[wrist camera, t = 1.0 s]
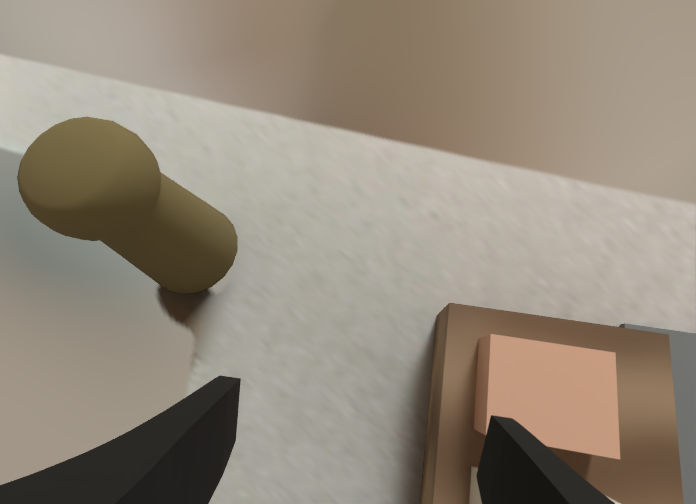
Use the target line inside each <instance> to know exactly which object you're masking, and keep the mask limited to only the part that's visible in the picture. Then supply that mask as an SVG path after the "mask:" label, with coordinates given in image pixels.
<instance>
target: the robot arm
mask: <svg viewBox="0 0 696 504" xmlns="http://www.w3.org/2000/svg"><path fill="white" fill-rule="evenodd" d="M239 392H240V379H239V378H232V377H226V376H218V377H217V378H215V379H213V380H212V381H210V382H209V383H207V384H206V385H204V386H203V387H201V388H200V389H198V390H197V391H195V392H194V393H192V394H191V395H189V396H187V397H186V398H184V399H183V400H181V401H180V402H178V403H176V404H175V405H173V406H172V407H170V408H169V409H167V410H166V411H164V412H162V413H160V414H158V415H157V416H155V417H153V418H152V419H150V420H148V421H147V422H145V423H143V424H141V425H140V426H138V427H136V428H134V429H132V430H131V431H129V432H127V433H125V434H123V435H121V436H119V437H117V438H115V439H113V440H111V441H109V442H107V443H105V444H103V445H101V446H99V447H96V448H94V449H92V450H90V451H88V452H86V453H83V454H81V455H79V456H76V457H74V458H71V459H69V460H66V461H64V462H62V463H59V464H56V465H54V466H51V467H49V468H46V469H44V470H42V471H39V472H36V473H34V474H31V475H29V476H26V477H23V478H20V479H17V480H14V481H11V482H9V483H6V484H3V485H0V504H208V503H209V501H210V499H211V497H212V495H213V493H214V491H215V489H216V487H217V485H218V483H219V481H220V479H221V477H222V475H223V473H224V470H225V468H226V465H227V462H228V460H229V457H230V454H231V452H232V449H233V446H234V444H235V441H236V430H237V417H238V404H239ZM476 478H477V482H478V487H479V492H480V497H481V501H482V504H615V503H614V502H613V501H611V500H610V499H609V498H608V497H606V496H605V495H604V494H602V493H601V492H600V491H599V490H597V489H596V488H595V487H594V486H592V485H591V484H590V483H589V482H588V481H586V480H585V479H584V478H583V477H581V476H580V475H579V474H578V473H577V472H575V471H574V470H573V469H572V468H571V467H570V466H568V465H567V464H566V463H565V462H564V461H563V460H561V459H560V458H559V457H558V456H557V455H556V454H555V453H553V452H552V451H551V450H550V449H549V448H548V447H546V446H545V445H544V444H543V443H542V442H541V441H540V440H538V439H537V438H536V437H535V436H534V435H533V434H532V433H530V432H529V431H528V430H527V429H526V428H524V427H523V426H522V425H521V424H519V423H518V422H517V421H516V420H514V419H513V418H507V417H500V416H493V415H491V417H490V421H489V426H488V430H487V434H486V438H485V442H484V446H483V450H482V454H481V458H480V463H479V467H478V471H477V475H476Z"/></svg>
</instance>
